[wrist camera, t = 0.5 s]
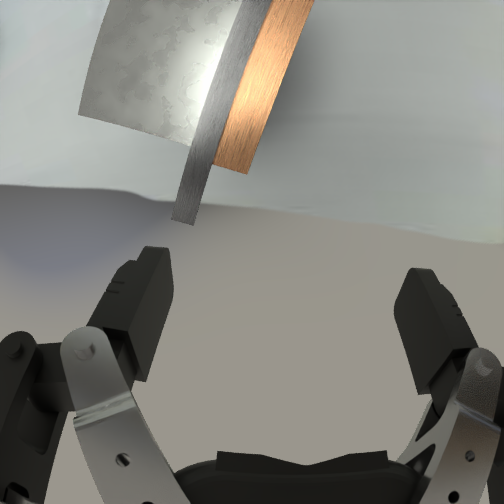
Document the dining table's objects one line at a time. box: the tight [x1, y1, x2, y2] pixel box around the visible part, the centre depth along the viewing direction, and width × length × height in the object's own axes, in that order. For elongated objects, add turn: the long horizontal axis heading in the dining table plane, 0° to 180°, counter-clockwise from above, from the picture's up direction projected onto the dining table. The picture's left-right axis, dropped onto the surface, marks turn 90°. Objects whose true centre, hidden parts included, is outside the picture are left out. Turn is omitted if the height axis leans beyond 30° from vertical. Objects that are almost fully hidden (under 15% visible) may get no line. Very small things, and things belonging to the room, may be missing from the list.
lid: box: [171, 0, 314, 225], centre depth 19 cm, size 17×15×3 cm
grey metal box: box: [78, 0, 243, 146], centre depth 28 cm, size 16×14×9 cm
